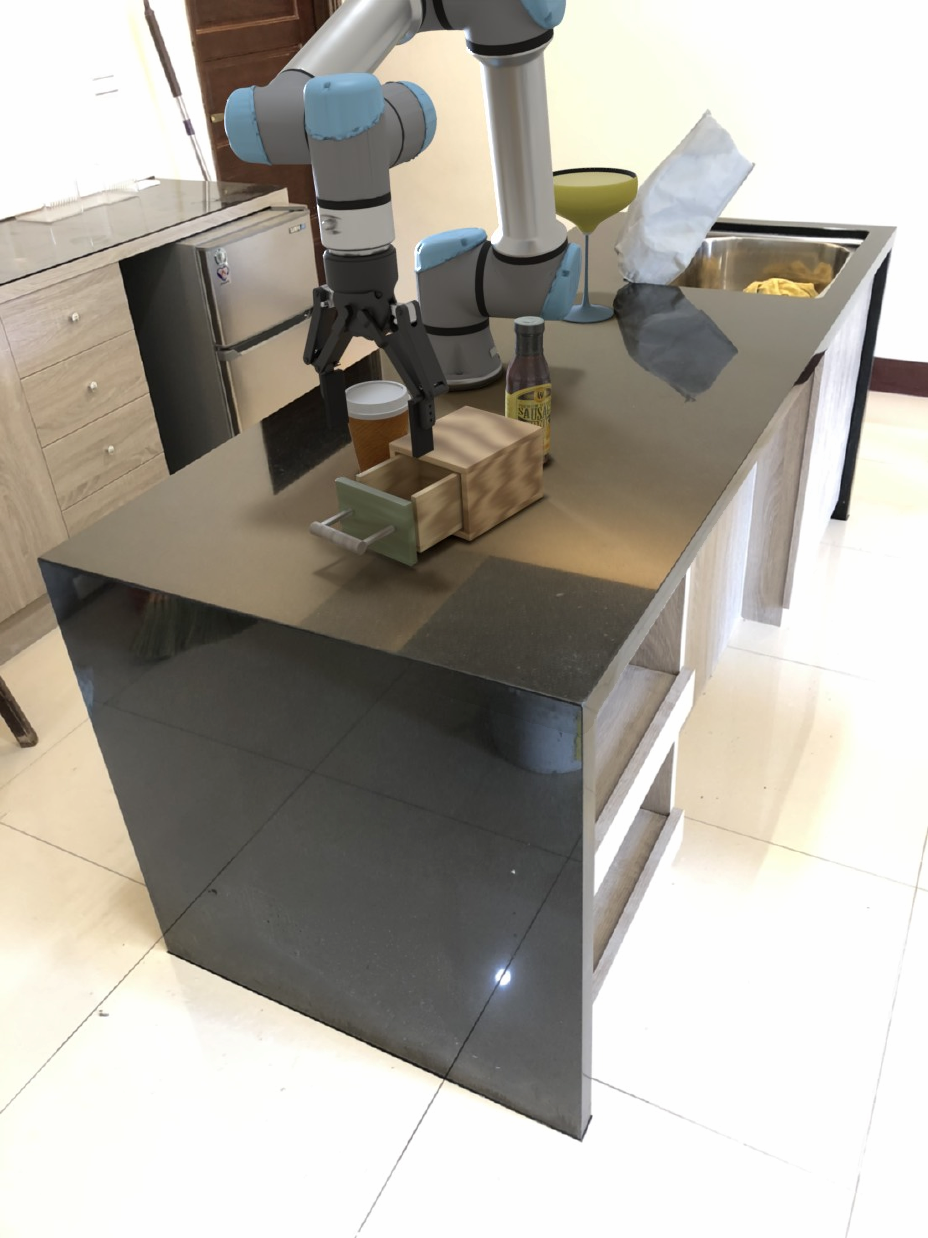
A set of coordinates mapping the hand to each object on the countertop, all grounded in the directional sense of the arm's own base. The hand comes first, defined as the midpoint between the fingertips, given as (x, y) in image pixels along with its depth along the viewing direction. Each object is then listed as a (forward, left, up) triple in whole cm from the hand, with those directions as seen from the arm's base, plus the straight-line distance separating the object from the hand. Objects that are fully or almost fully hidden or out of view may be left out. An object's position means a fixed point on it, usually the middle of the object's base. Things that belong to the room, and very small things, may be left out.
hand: (379, 439), depth 115 cm
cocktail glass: (-34, +89, -15) cm, 96 cm away
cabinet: (0, +15, -15) cm, 21 cm away
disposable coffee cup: (-16, +15, -15) cm, 26 cm away
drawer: (0, +1, -14) cm, 14 cm away
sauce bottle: (-2, +30, -15) cm, 33 cm away
